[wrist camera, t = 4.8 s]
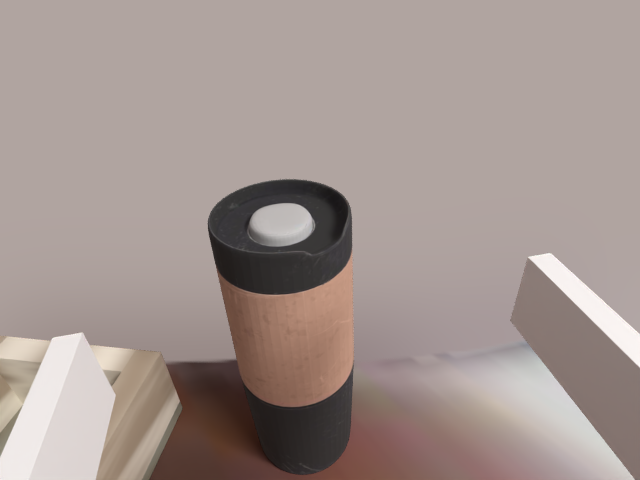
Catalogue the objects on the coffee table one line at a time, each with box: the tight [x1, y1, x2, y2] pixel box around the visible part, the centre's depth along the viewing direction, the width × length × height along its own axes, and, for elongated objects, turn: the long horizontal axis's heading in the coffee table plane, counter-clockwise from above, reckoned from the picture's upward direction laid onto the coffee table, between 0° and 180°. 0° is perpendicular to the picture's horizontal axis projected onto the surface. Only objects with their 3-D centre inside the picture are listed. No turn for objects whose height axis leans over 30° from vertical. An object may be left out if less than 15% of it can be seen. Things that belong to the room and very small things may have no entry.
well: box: [0, 336, 183, 480], centre depth 29 cm, size 15×15×7 cm
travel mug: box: [208, 179, 354, 475], centre depth 28 cm, size 8×8×20 cm
